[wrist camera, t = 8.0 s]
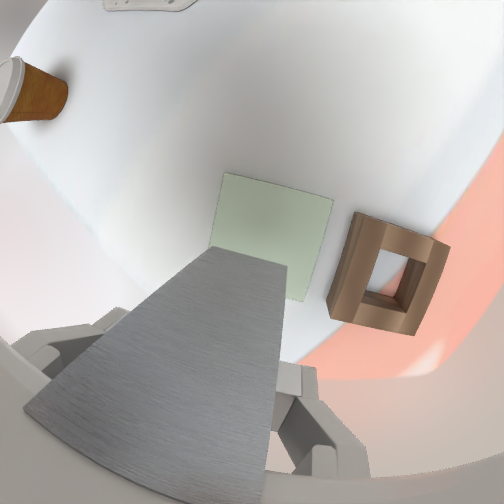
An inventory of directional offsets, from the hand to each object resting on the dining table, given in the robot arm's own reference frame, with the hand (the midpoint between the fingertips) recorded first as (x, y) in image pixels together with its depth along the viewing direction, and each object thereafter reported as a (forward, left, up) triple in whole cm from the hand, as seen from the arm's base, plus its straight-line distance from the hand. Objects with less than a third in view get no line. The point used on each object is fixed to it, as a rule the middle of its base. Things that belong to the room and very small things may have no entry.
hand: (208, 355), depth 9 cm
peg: (0, 0, -6) cm, 6 cm away
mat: (0, 0, -20) cm, 20 cm away
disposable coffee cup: (-35, +13, -20) cm, 42 cm away
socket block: (+13, 0, -20) cm, 24 cm away
